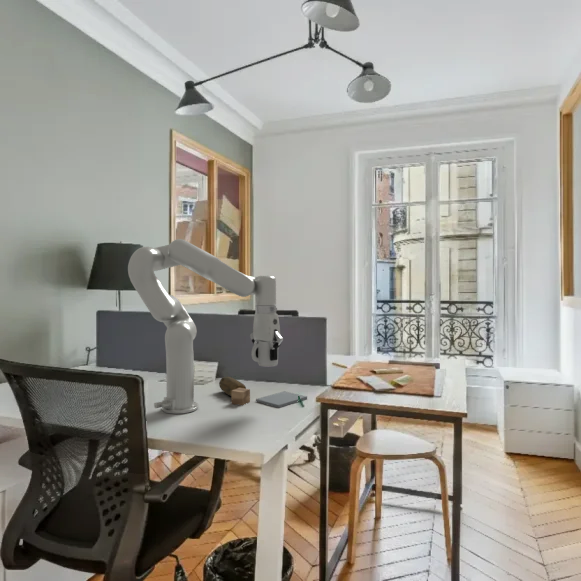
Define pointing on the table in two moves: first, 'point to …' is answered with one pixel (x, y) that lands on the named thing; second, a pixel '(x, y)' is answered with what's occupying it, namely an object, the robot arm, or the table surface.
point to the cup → (263, 354)
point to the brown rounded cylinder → (230, 385)
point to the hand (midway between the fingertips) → (266, 358)
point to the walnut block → (240, 396)
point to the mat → (281, 399)
